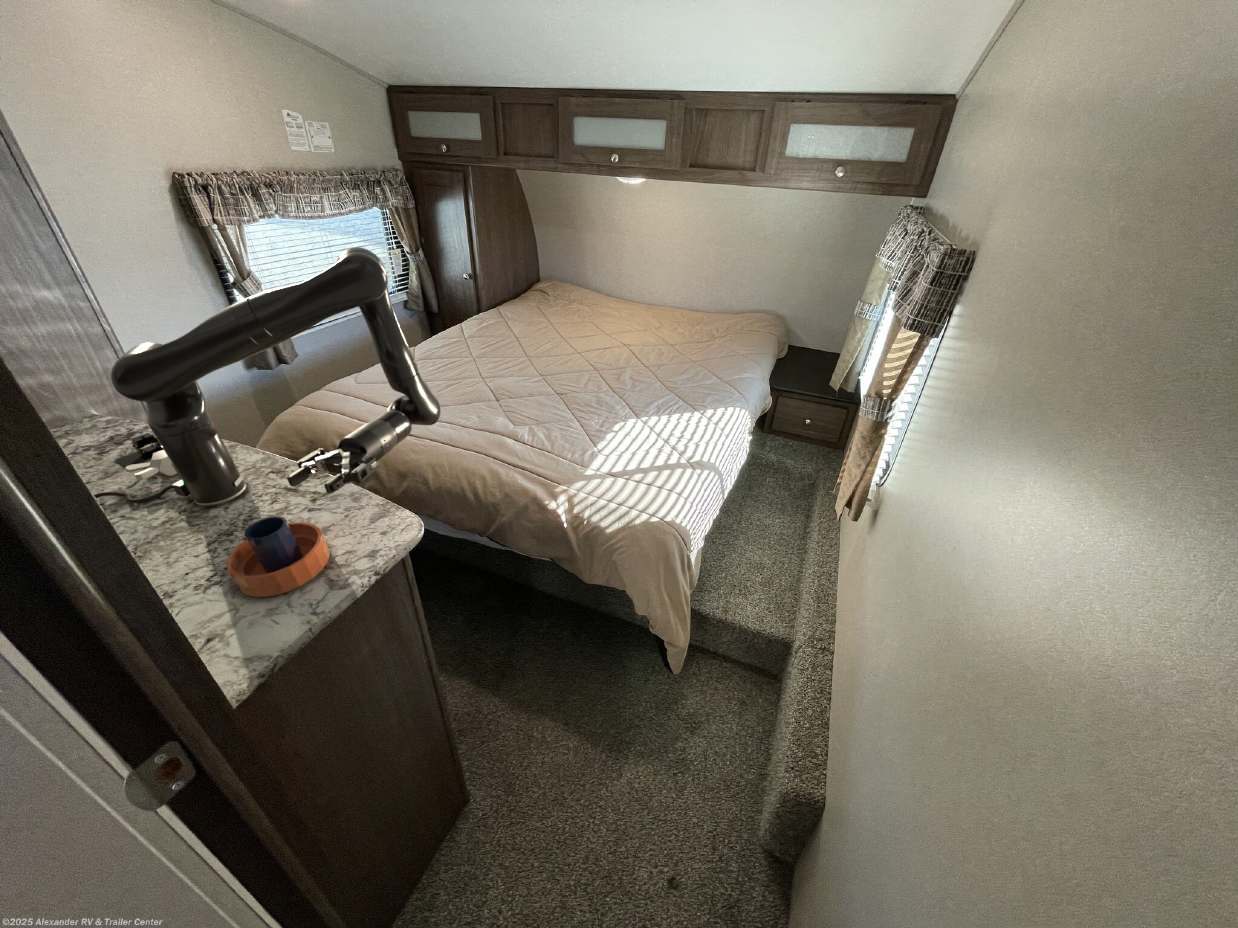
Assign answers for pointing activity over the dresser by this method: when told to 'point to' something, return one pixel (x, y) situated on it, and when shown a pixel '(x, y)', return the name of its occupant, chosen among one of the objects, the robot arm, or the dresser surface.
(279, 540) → the blue cup
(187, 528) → the dresser surface
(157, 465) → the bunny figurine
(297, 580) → the bowl
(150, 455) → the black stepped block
